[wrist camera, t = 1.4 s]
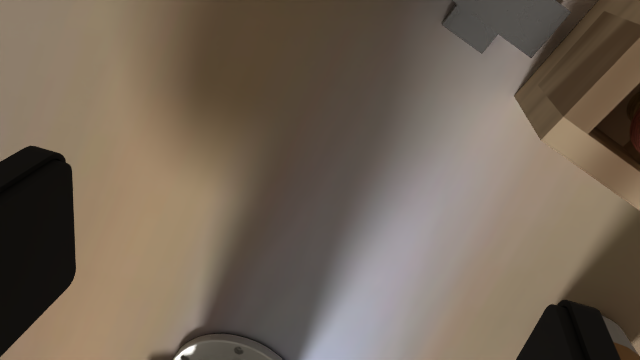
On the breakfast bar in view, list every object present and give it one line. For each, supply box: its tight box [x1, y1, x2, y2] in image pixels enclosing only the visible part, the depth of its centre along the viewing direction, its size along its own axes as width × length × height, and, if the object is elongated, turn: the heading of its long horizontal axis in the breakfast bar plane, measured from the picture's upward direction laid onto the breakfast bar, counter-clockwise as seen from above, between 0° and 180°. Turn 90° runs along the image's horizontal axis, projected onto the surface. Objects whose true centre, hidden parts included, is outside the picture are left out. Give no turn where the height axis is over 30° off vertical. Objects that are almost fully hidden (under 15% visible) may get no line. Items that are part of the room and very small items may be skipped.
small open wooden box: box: [514, 0, 640, 211], centre depth 27 cm, size 8×8×8 cm
